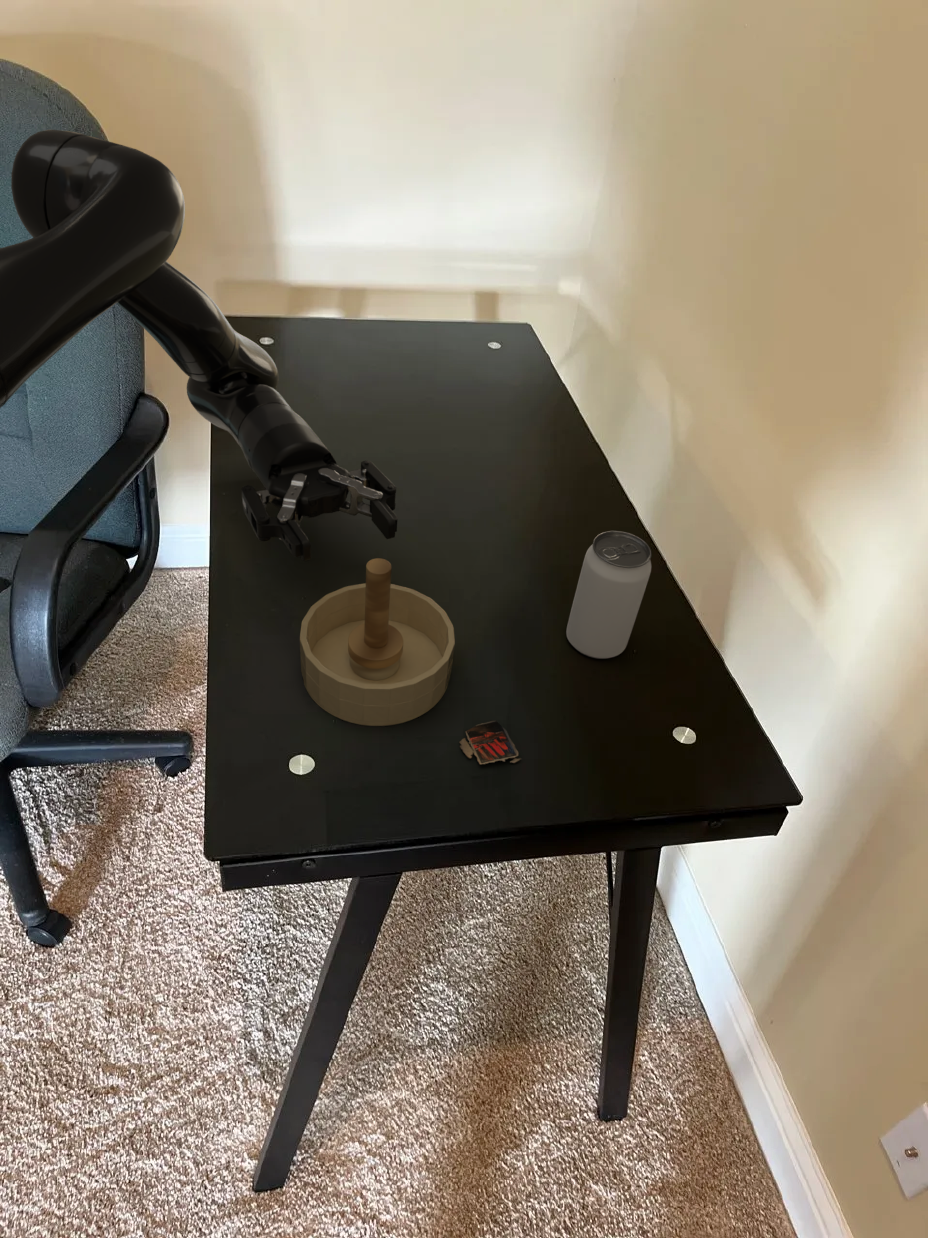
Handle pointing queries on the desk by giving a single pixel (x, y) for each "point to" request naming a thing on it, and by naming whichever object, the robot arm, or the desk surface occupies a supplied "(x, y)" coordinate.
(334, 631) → the bowl
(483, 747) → the small printed card
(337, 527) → the desk surface
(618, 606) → the can
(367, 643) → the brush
